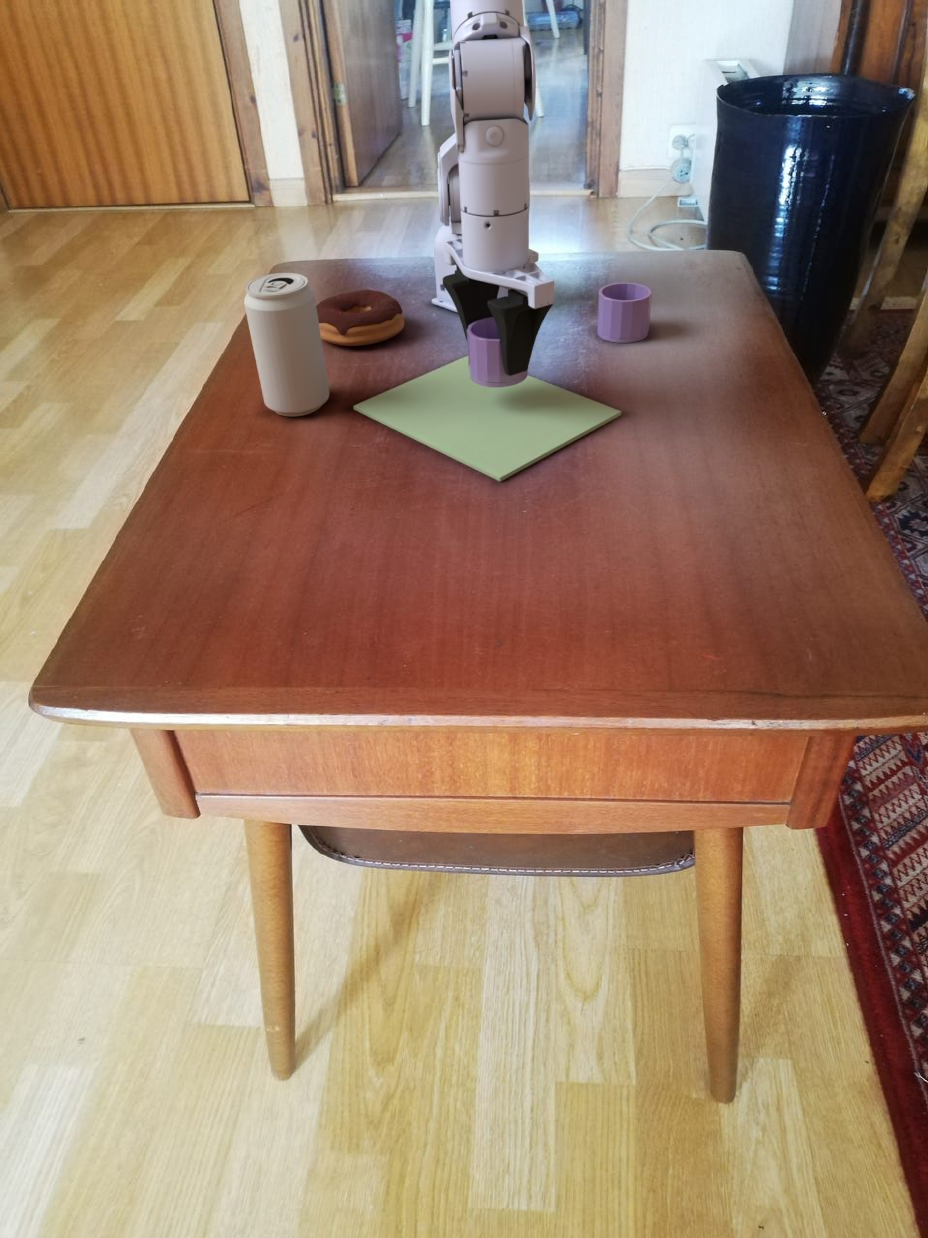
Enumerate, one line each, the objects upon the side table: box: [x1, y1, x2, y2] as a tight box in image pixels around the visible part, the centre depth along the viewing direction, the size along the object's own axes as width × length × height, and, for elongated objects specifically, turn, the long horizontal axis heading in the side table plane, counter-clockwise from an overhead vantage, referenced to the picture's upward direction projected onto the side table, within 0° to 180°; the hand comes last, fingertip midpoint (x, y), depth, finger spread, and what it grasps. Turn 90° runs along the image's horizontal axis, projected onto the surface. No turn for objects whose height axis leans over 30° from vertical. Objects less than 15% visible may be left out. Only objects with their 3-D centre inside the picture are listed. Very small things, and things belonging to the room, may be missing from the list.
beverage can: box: [243, 272, 330, 417], centre depth 87 cm, size 6×6×12 cm
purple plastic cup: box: [466, 317, 529, 387], centre depth 85 cm, size 6×6×4 cm
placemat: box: [352, 355, 622, 483], centre depth 88 cm, size 20×16×1 cm
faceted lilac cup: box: [596, 282, 653, 344], centre depth 99 cm, size 6×6×4 cm
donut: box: [316, 289, 405, 347], centre depth 102 cm, size 10×10×4 cm
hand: (498, 360), depth 86 cm, fingers closed on purple plastic cup, 5 cm apart
